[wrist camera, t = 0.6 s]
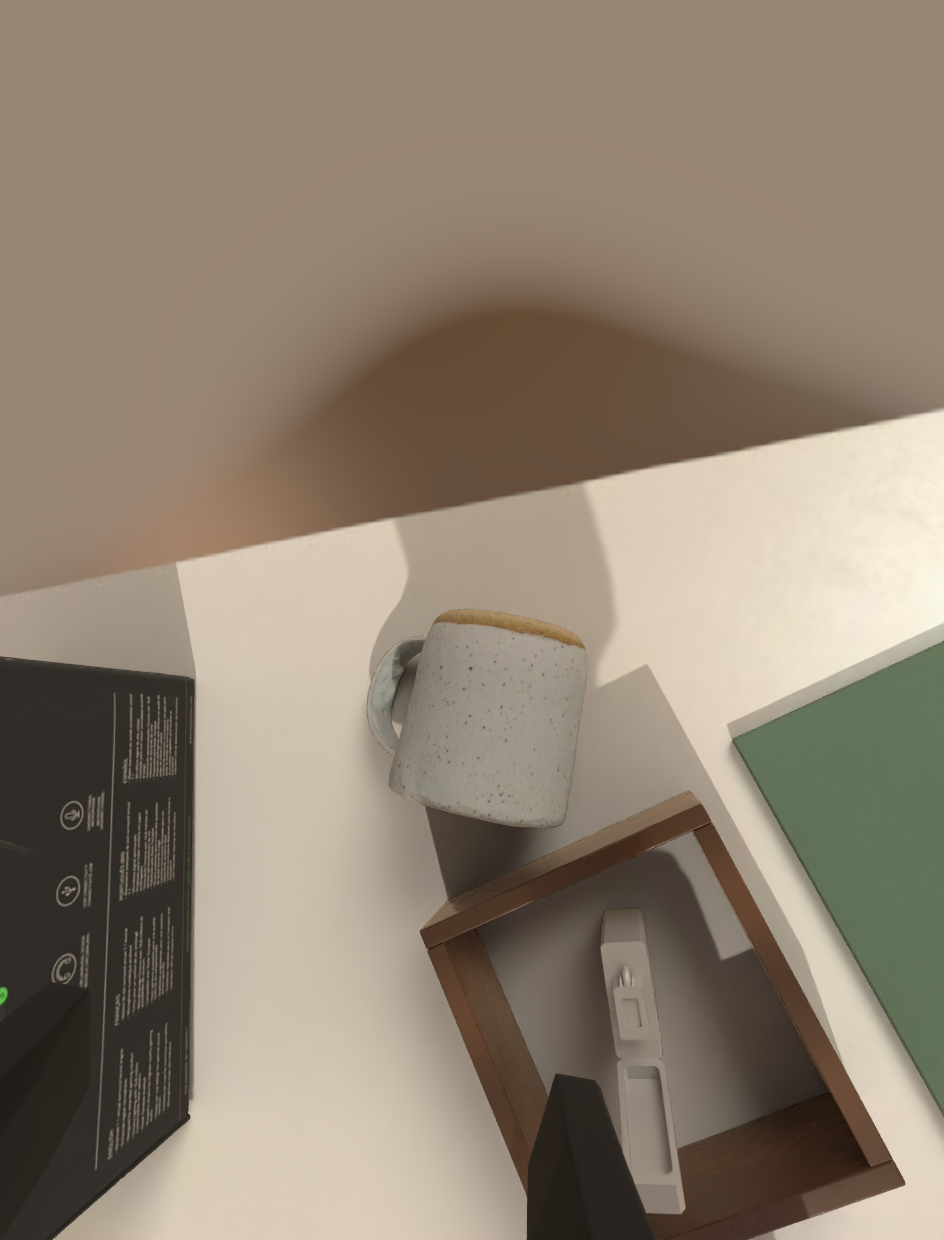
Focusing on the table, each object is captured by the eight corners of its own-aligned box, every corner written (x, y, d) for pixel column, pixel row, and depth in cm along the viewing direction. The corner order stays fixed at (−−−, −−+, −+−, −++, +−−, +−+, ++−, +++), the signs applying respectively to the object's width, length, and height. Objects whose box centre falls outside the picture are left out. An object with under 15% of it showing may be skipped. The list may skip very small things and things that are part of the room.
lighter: (602, 910, 29) (595, 982, 21) (641, 907, 28) (648, 980, 21) (628, 1082, 27) (630, 1226, 20) (669, 1082, 27) (688, 1228, 19)
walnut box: (858, 1105, 25) (907, 1186, 21) (577, 1208, 27) (569, 1302, 23) (689, 789, 29) (701, 802, 24) (447, 900, 30) (418, 931, 26)
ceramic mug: (597, 643, 30) (586, 619, 23) (571, 815, 30) (551, 847, 22) (395, 613, 33) (327, 584, 26) (365, 769, 32) (287, 785, 25)
